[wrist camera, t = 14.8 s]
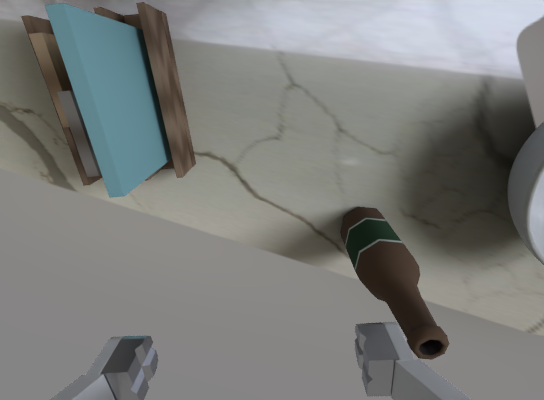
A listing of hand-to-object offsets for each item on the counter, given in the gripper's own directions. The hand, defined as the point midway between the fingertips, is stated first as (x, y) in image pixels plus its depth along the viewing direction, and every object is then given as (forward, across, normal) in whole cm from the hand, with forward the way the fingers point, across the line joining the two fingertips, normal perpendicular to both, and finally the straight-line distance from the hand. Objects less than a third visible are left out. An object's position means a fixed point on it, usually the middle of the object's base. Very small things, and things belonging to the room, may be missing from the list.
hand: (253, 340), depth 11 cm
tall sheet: (+34, +15, -8) cm, 38 cm away
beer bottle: (+35, -14, +15) cm, 41 cm away
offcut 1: (+34, +24, -11) cm, 43 cm away
